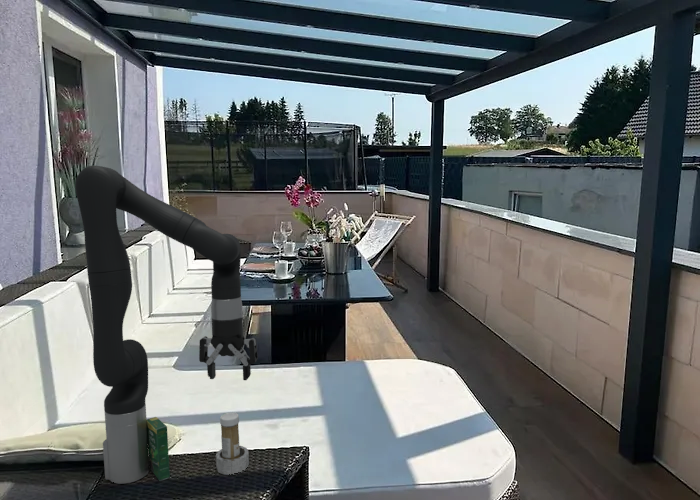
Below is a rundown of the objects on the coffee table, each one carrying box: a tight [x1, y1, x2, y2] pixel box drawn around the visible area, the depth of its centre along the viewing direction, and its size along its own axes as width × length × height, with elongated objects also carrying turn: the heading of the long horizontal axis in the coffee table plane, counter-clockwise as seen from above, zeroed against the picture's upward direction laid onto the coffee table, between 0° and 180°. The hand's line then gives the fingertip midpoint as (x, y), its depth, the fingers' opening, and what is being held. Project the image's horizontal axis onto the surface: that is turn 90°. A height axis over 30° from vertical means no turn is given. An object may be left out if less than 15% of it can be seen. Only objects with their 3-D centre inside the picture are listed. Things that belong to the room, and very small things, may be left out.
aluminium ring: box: [215, 445, 250, 476], centre depth 130 cm, size 8×8×4 cm
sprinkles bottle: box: [219, 411, 241, 460], centre depth 129 cm, size 5×5×13 cm
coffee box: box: [146, 416, 171, 482], centre depth 127 cm, size 8×3×13 cm, turn 38°
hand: (229, 378), depth 128 cm, fingers open, 8 cm apart
